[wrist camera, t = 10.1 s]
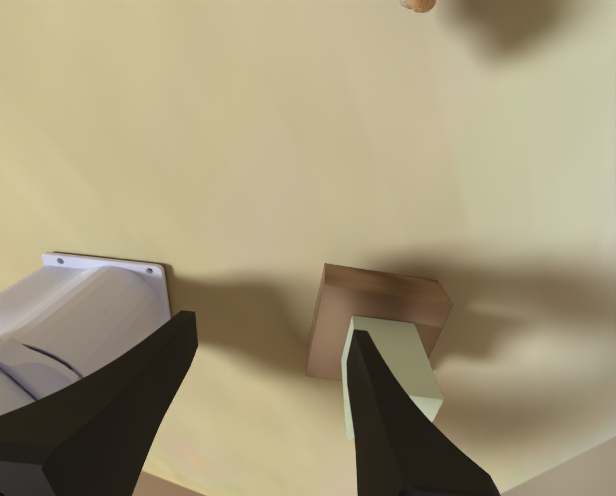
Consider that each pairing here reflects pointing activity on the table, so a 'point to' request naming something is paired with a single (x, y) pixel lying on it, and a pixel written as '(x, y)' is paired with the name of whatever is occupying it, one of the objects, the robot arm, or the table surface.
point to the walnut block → (369, 311)
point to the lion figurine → (418, 5)
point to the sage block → (397, 363)
